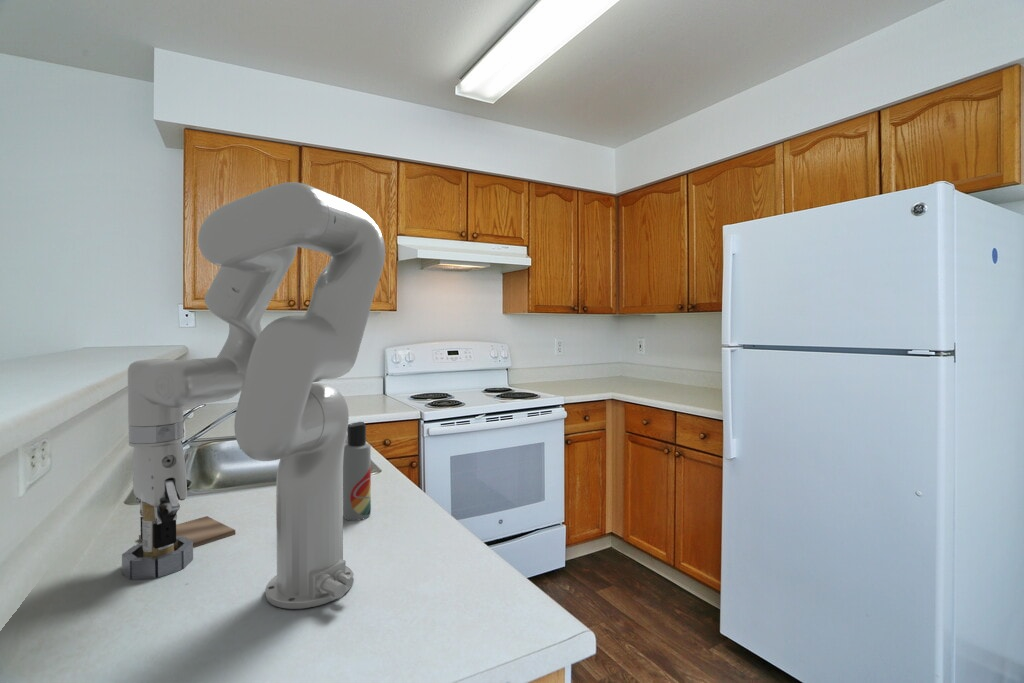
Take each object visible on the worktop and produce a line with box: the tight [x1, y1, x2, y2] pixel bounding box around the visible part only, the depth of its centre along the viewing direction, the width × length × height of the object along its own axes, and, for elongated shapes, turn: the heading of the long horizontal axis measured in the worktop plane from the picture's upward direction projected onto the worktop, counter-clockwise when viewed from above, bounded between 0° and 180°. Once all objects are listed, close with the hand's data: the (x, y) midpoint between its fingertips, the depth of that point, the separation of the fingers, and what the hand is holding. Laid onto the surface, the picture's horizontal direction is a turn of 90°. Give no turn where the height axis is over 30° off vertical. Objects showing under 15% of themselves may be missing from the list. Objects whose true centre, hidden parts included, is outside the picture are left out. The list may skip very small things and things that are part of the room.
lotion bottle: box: [343, 421, 372, 521], centre depth 108 cm, size 6×6×20 cm
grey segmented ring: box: [121, 536, 194, 581], centre depth 86 cm, size 9×9×3 cm
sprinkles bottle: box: [141, 493, 174, 557], centre depth 85 cm, size 5×5×14 cm
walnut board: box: [138, 516, 236, 548], centre depth 97 cm, size 12×12×1 cm
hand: (158, 540), depth 85 cm, fingers closed on sprinkles bottle, 4 cm apart
